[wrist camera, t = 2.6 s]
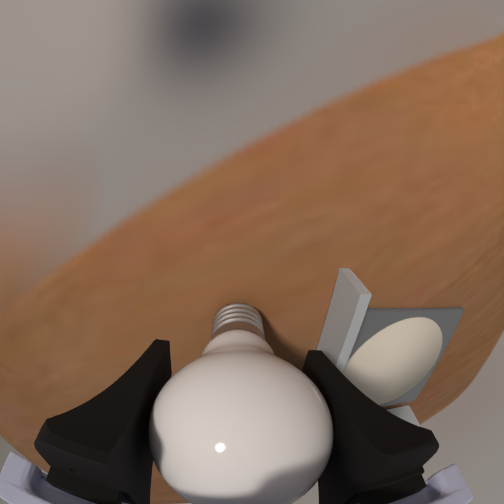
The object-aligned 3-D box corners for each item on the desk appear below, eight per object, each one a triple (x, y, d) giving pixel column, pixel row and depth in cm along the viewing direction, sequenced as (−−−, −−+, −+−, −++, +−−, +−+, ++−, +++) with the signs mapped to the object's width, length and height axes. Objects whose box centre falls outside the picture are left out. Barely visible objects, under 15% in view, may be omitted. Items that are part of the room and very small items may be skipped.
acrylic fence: (402, 414, 21) (413, 436, 18) (287, 429, 20) (292, 457, 17) (473, 277, 16) (498, 296, 13) (339, 267, 15) (360, 294, 12)
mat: (413, 398, 20) (415, 401, 20) (315, 412, 19) (316, 415, 19) (461, 307, 17) (464, 309, 16) (356, 308, 16) (358, 311, 15)
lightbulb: (313, 290, 15) (399, 471, 5) (263, 369, 17) (284, 531, 7) (204, 246, 14) (150, 455, 4) (168, 338, 16) (124, 510, 6)
